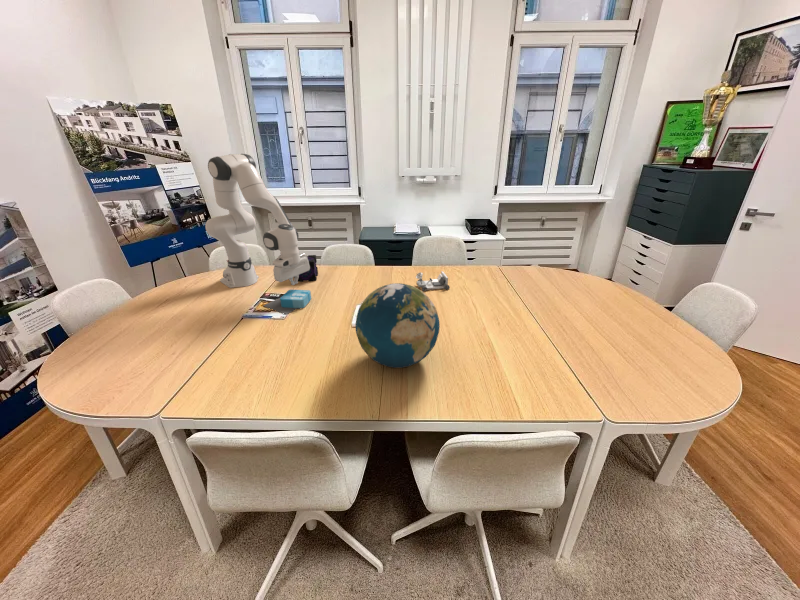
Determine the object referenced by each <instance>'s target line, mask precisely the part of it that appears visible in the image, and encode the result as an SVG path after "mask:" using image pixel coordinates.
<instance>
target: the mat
mask: <svg viewBox="0 0 800 600" xmlns="http://www.w3.org/2000/svg"><path fill="white" fill-rule="evenodd" d="M280 298H281V297H279V298H276V299H275V300H272V301H270V302H268V303H265V304H264V305H262V307H264V308H266V307H267V308H266V309H269V308H270V310H272V309H273V310H272V311H275V310H276V312H277V313H280V312H281V314H283V313H284V314H283V315H288V314H290V313H292V312H295V311H296V310H298V309H299V308H284V307H282V306H281V301H280Z"/></svg>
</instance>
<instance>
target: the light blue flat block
mask: <svg viewBox="0 0 800 600" xmlns="http://www.w3.org/2000/svg"><path fill="white" fill-rule="evenodd" d="M279 298H280V301H281V306H282V307H284V308H298V309H304V308H305V307H307V305H308V304H309V303H310V302H311V300H312V294H311V290H309V289H288V290H286V292H284V294H283V295H282V296H280V297H279Z"/></svg>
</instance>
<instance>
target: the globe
mask: <svg viewBox="0 0 800 600" xmlns="http://www.w3.org/2000/svg"><path fill="white" fill-rule="evenodd" d="M440 328H441V327H440V319H439V315H438V311H437V308H436V306H435V304H434V302H433V301H432V300H431V298H430V297H429V296H428V295H427V294H426V292H425V291H422V289H419V287H415V286H413V285H410V284H406V283H399V282H398V283H394V282H393V283H390V284H385V285H382V286H380V287H378V288H375V289H374V290H373V291H372V292H370V293H369V294H368V295H367V296H366V297H365V298H364V300H363V301H362V303H361V304H360V306H359V308H358V311H357V315H356V318H355V333H356V337H357V339H358V344H359V345H360V348H361V349H362V350H363V351H364V353H365V354H366V355H367V356H368V357H369V358H370V359H372V360H373V361H374V362H375V363H377V364H379V365H383V366H385V367H388V368H393V369H395V368H397V369H398V368H401V369H402V368H406V367H407V368H408V367H410V366H413V365H415V364H418V363H419V362H422V360H424V359H425V358H426V357H427V356H428V355H429V354H430V353H431V351H432V350H433V349H434V347H435V345H436V344H437V340H438V338H439V333H440Z"/></svg>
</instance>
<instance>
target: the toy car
mask: <svg viewBox="0 0 800 600" xmlns="http://www.w3.org/2000/svg"><path fill="white" fill-rule="evenodd" d="M440 271H441V270H440ZM423 275H424V274H423V272H417V273H416V276H415V278H416V279H417V281H416V285H417V287H418V288H421V291H422V292H427V291H428V290H440V289H444V290H446V291H447V290H450V285H448V283H449V277H448V276H447V274H446V273H445V272H444V271H443V270H442V271H441V273H440V274H438V276H437V278H431V277H430V278H429V279H428V280H423Z"/></svg>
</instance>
